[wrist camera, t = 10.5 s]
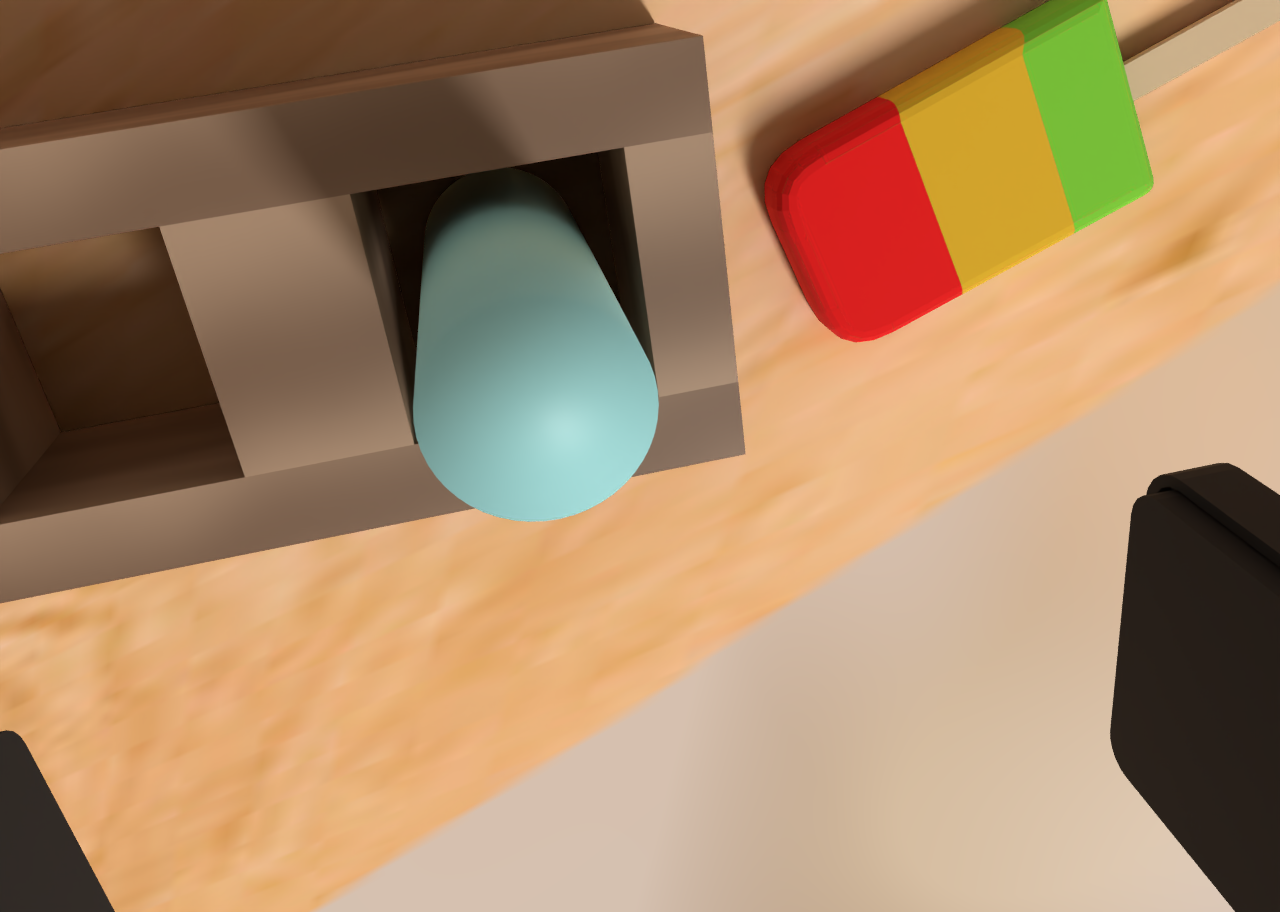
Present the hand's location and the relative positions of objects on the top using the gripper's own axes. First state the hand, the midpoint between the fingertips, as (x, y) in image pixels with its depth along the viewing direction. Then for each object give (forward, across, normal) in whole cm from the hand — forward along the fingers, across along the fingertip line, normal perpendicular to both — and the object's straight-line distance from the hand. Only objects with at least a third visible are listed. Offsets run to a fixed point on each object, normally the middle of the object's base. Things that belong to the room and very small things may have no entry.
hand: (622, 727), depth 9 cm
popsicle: (+20, -14, 0) cm, 24 cm away
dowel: (+19, 0, +1) cm, 19 cm away
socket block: (+19, +5, +1) cm, 20 cm away
